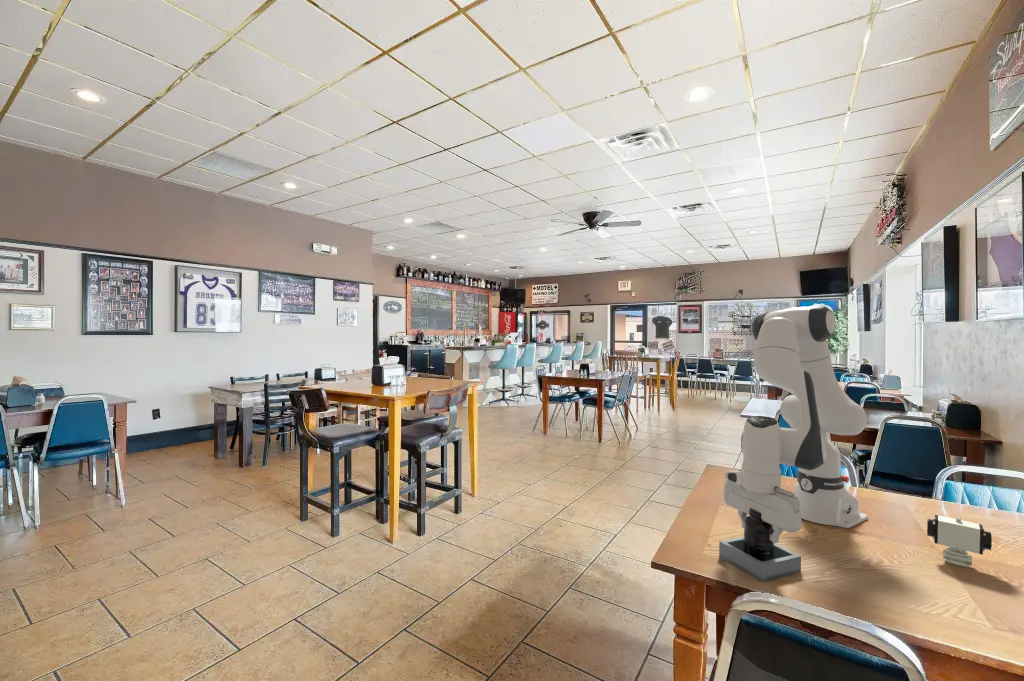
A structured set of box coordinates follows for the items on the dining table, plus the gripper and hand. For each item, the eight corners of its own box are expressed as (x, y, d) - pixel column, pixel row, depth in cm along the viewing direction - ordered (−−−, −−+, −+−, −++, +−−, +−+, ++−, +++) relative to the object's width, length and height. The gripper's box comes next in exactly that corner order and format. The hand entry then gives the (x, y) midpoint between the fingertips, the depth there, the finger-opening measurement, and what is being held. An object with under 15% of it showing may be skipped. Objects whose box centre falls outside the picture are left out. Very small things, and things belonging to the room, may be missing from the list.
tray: (755, 548, 124) (755, 534, 123) (800, 572, 111) (801, 556, 111) (719, 556, 119) (719, 541, 119) (762, 582, 107) (762, 565, 107)
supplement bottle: (737, 548, 119) (739, 503, 118) (762, 547, 119) (764, 503, 118) (753, 562, 112) (755, 515, 111) (779, 562, 112) (781, 515, 112)
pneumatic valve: (990, 575, 111) (992, 527, 111) (926, 558, 119) (927, 514, 119) (988, 567, 115) (990, 520, 115) (926, 551, 123) (927, 508, 123)
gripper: (808, 493, 106) (807, 551, 107) (737, 468, 125) (736, 517, 126) (789, 496, 104) (788, 555, 104) (720, 470, 123) (719, 521, 123)
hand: (759, 534), depth 115 cm, fingers closed on supplement bottle, 7 cm apart
